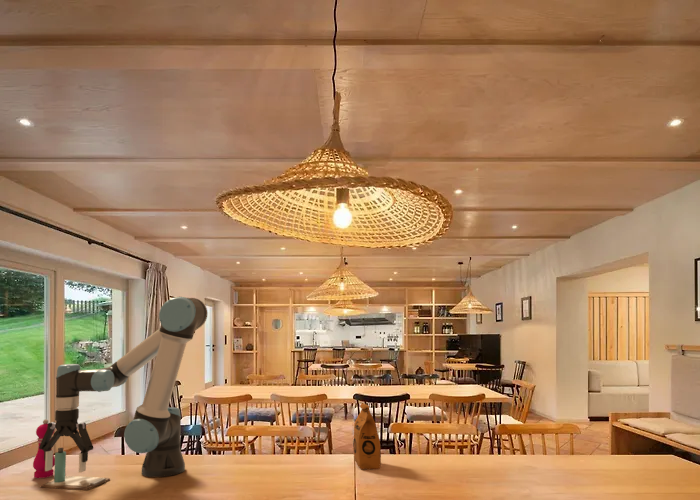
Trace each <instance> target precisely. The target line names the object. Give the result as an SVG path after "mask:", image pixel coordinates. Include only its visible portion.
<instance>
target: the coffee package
mask: <svg viewBox="0 0 700 500" xmlns="http://www.w3.org/2000/svg"><path fill="white" fill-rule="evenodd" d="M359 408H361V410H360V412H359V414H358V415H357V416H356V417H357V418H356V419H355V421H354V426H353V440H352V441H353V445H352V447H353V457H354V462H355V464H356V465H357V466H358V468H359V469H361V470H378V469H381V461H382V450H381V440H380V436H379V433H378V427H377V425H376V423H375V420H374V418H373V414H372V413H371V411H370V405H368V404H367V403H364V402H362V403H361V404H360V405H359Z"/></svg>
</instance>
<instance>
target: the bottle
mask: <svg viewBox="0 0 700 500" xmlns="http://www.w3.org/2000/svg"><path fill="white" fill-rule="evenodd" d="M54 457H55V465H54V472H53V481H54V482H63V481H65V476H66V469H67V468H66V465H67V464H66V463H67V461H66V460H67V458H66V457H67V451H64V447H58V449H57V452H55V453H54Z"/></svg>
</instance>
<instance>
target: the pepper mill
mask: <svg viewBox="0 0 700 500" xmlns="http://www.w3.org/2000/svg"><path fill="white" fill-rule="evenodd" d="M48 423H49V420H48V419H43V420H42V424H40V425H38V427H37V428H36V430H35V435H36V436H37V441H36V442H37V443H38V447H37V452H36V455H35V457H34V459H33V462H32V468H33V469H34V470H35V471H34V472H33V478H34V479H47V478H50V477H54V471H55V469H53V468H54V467H55V454H53V466H52V469H51V470H49V471H45V461H44V451H43V450H42V449H39V446H40V444H41V442H42V439H43V437H44V435H45V433H46V431H47V426H48ZM54 433H55V431H54V432H53V434H54ZM53 434H52V436H51V438H52V437H53ZM51 450H53V448H52V449H51Z"/></svg>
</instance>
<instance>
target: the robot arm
mask: <svg viewBox="0 0 700 500" xmlns="http://www.w3.org/2000/svg"><path fill="white" fill-rule="evenodd" d="M207 318H208V309H207V306H206V304H205V303H204V302H203V301H202V300H200V299H198V298H195V297H185V296H177V297H176V296H175V297H172V298H170V299H168V300H166V301H165V302H164V303H163V304H162V305H161V307H160V310H159V313H158V319H159V322H160V327H159V328H158V329H157V330H156V331H155V332H153V333H152V334H151V335H149V336H148V337H146V338H145V339H144V340H142V341H141V342H140V343H139V344H138V345H136V346H134V347H133V348H132V349H131V350H129V351H128V352H127V353H125V354H124V355H123V356H122V357H120V358H119V359H117V361H115V362H114V363H112V364H111V365H110V366H108V367H101V368H97V369H81V365H80V364H78V363H68V364H67V363H66V364H60V365H58V366H57V368H56V377H55V381H56V386H55V387H56V388H55V389H56V390H55V391H56V393H55V406H54V407H55V409H56V410H55V411H54V413H55V414H54V420H55V421H51V422H48V423H47V424H48V426H47V431H46V433H45V435H44V437H43V439H42V442H41V444H40V446H39V445H38V447H39V449H42V450H43V451H44V461H45V471H49V470H51V469H53V468H52V466H53V455H54V449H53V447H54V446H55V445H56V443H57V442H58V441H59V439H60V437H70V438H71V439H72V440H73V441H74V443H75V445H76V447H78V449H79V451H80V452H79V453H78V473H79V474H80V473H84V472H86V471H87V462H88V458H89V457H88V456H89V452H90V451H92V450H94V445H93V443H92V440H91V437H90V435H89V432H88V430H87V423H86V422H81V423H79V422H78V420H79V415H80V409H79V406H80V392H98V393H102V392H108V391H110V390H111V389H112V388H115V387H120V386H122V385H124V384H125V383H126V382H127V381H128V378H130V377H131V376H132V375H134V374H135V373H136V372H138V371H139V370H141V369H142V368H143V367H145V365H147V364H148V363H149V362H150V361H152V360H153V359H154V358H155V360H154V363H153V367H152V371H151V374H150V378H149V381H148V383H147V388H146V391H145V394H144V398H143V402H142V404H141V405H139V406H137V407H136V410H135V412H134V415H133V416H134V417H133V420H131V421H129V422H128V424H127V425H126V427H125V429H124V432H123V433H124V434H123V438H124V442H125V444H126V445H127V448H128V449H130V450H131V451H132V452H134V453H136V454H145V456H144V460H143V463H142V466H141V475H142V476H144V477H148V478H160V477H161V478H162V477H163V478H164V477H171V476H176V475H179V474H182V473H183V472H185V470H186V463H185V460H184V456H183V454H182V451H181V426H182V425H181V424H182V423H181V422H182V421H181V420H182V416H181V410H180V408H178V407H169V405H170V402H171V397H172V395H173V391H174V387H175V384H176V382H177V381H176V380H177V377H178V375H179V374H178V373H179V371H180V367H181V363H182V360H183V356H184V354H185V349H186V347H187V344H188V342H191V340H193V338H194V335H195V331H197V330H198V329H200V328H202V326H204V324H205V323H206V321H207ZM55 430H56V431H55ZM53 432H54V434H53ZM52 434H53V435H52ZM51 436H52V438H51ZM51 449H52V450H51ZM53 467H54V466H53Z"/></svg>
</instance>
